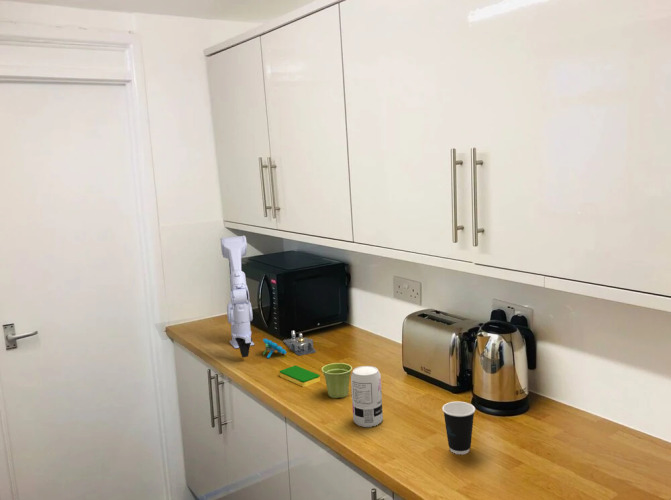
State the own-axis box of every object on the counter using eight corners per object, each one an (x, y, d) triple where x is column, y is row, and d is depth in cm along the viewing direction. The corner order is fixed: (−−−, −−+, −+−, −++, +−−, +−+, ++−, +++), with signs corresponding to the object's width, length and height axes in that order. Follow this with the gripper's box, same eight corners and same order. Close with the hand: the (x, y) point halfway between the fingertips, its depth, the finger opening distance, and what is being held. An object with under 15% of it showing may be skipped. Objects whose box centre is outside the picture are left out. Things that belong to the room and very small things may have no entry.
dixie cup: (479, 445, 148) (479, 404, 146) (470, 460, 142) (470, 417, 140) (449, 439, 152) (448, 399, 150) (439, 454, 145) (437, 412, 143)
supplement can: (348, 419, 167) (345, 368, 164) (374, 412, 170) (372, 363, 167) (361, 431, 159) (358, 378, 157) (388, 423, 163) (385, 372, 160)
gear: (292, 352, 220) (272, 338, 215) (283, 366, 218) (263, 352, 213) (278, 349, 229) (259, 335, 225) (270, 362, 227) (250, 348, 223)
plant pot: (334, 386, 190) (333, 360, 189) (359, 392, 185) (357, 365, 183) (317, 397, 183) (315, 370, 181) (342, 403, 177) (340, 375, 176)
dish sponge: (296, 371, 206) (295, 364, 206) (320, 381, 196) (320, 374, 195) (279, 377, 202) (278, 370, 202) (303, 388, 191) (303, 381, 191)
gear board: (280, 343, 237) (279, 327, 235) (302, 339, 240) (301, 323, 239) (295, 356, 220) (294, 339, 219) (318, 351, 224) (317, 335, 223)
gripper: (226, 317, 220) (229, 352, 223) (235, 327, 207) (239, 364, 210) (245, 314, 223) (248, 349, 225) (255, 324, 210) (258, 360, 212)
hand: (245, 356), depth 218 cm, fingers closed
